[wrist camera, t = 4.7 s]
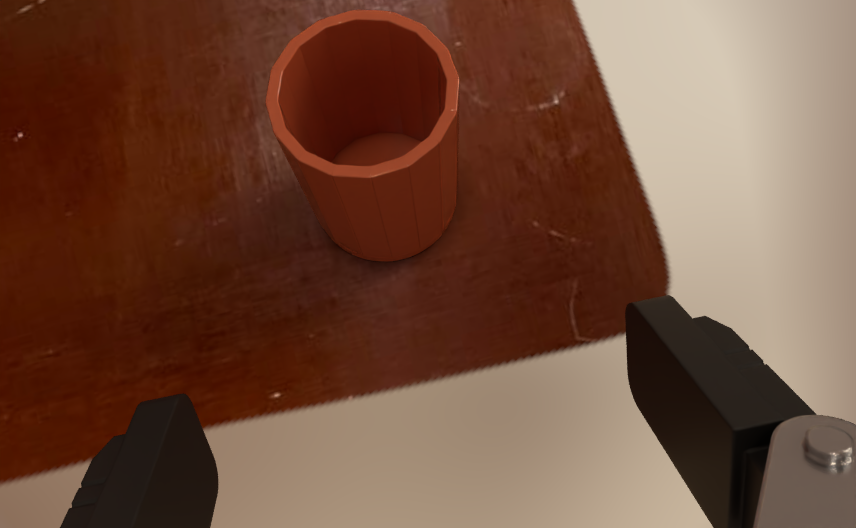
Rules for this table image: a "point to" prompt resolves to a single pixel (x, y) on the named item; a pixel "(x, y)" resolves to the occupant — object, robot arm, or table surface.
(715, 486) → the robot arm
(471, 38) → the table surface
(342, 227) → the red cup
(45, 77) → the table surface
